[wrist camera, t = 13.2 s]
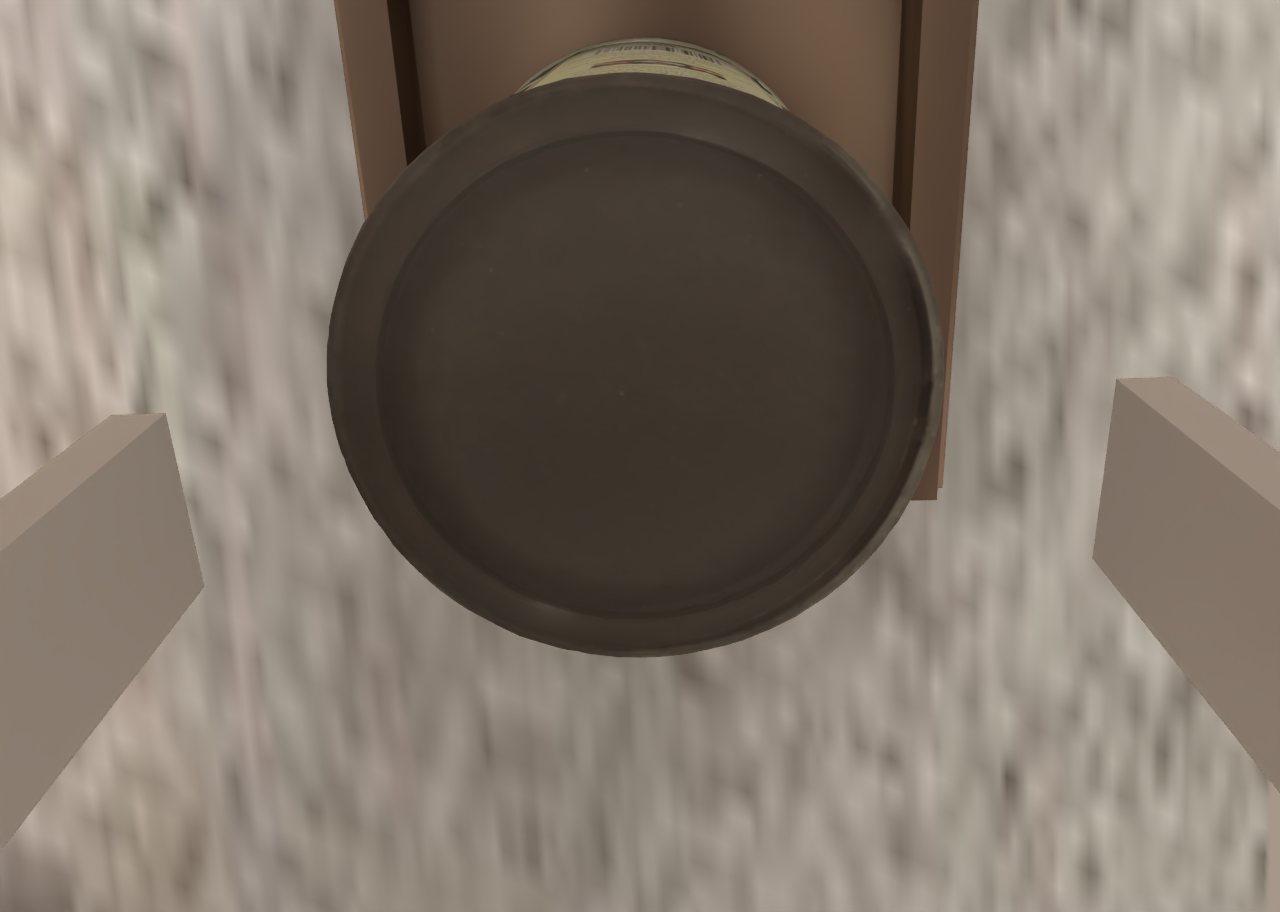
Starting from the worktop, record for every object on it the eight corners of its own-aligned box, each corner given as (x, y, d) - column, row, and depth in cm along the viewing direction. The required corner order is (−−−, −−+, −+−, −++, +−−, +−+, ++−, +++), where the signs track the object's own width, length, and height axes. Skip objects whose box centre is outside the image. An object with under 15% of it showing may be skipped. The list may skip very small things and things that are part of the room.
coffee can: (551, 443, 34) (481, 727, 21) (405, 121, 30) (207, 222, 17) (871, 329, 32) (1013, 560, 19) (759, -27, 28) (841, -41, 15)
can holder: (411, 489, 35) (386, 539, 32) (332, -90, 29) (289, -101, 26) (935, 474, 35) (962, 523, 32) (977, -121, 28) (1017, -136, 25)
